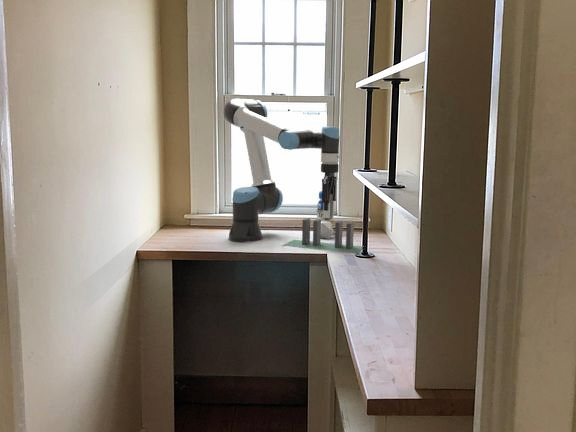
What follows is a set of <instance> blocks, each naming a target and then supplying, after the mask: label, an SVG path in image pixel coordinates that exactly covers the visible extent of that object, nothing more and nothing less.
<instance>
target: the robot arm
mask: <svg viewBox="0 0 576 432" xmlns="http://www.w3.org/2000/svg"><path fill="white" fill-rule="evenodd" d="M223 107H224V108H223V117H224V119H225V120H226V121H227V122H228V123H229V124H231V125H233V126H235V127H237V128H239V129H240V131H241V132H242V133H243V134H244V138H245V139H244V140H245V144H246V149H247V155H248V161H249V166H250V172H251V176H252V184H251V186H246V187H245V186H244V187H238V188H236V189H234V191H233V193H232V223H231V227H230V230H229V234H228V240H229V241H233V242H238V243H246V242H251V243H252V242H257V241H261V240H263V233H262V229H261V226H260V224H259V215H263V214H270V213H273V212H276V211H278V210H279V209H280V208H281V206H282V205H283V200H284V196H283V193H282V191H281V190H280V189H279V188H278V187H277V186H276V182H275V181H273V179H272V177H271V171H270V165H269V160H268V154H267V149H266V143H265V139H266V138H267V139H269V140H271V141H273V142H275V143H278V144H279V145H280V148H282V149H284V150H289V151H291V150H300V149H302V150H303V149H318V150H319V149H320V150H321V152H320V157H321V158H320V162H321V163H320V172H321V173H323V174H324V176H323V178H321V191H322V201H321V203H323V218H330V203H329V200H330V194H333V205H332V216H335V202H337V180H338V179H337V176H336V175H335V174H337V173H339V161H340V158H341V156H340V154H339V153H340V151H339V150H340V138H341V137H340V128H339V127H338V126H322V128H321V130H319V131H318V130H309V129H307V130H294V129H291V128H290V127H287V126H286V125H285V126H284V125H282V124H280V123H278V122H276V121H273V120H271V119H269V118H268V110H267V109H268V108H267V107H266V105H265V104H264V103H263V102H262V101H261V100H257V99H253V98H251V99H248V98H232V99H230V100H228V101H227V102H226V103H225V105H224V106H223ZM264 137H265V138H264Z"/></svg>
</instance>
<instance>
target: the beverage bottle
mask: <svg viewBox="0 0 576 432" xmlns="http://www.w3.org/2000/svg"><path fill="white" fill-rule="evenodd" d="M321 201H322V190H321V191H318V202H317V205H316V207H317V209H316V219H321V221H325V222H331V224H332V227H333V228H334V216H335V215H334V216H332V219H331V220H329V221H328V220H325V218H323V203H321Z"/></svg>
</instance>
